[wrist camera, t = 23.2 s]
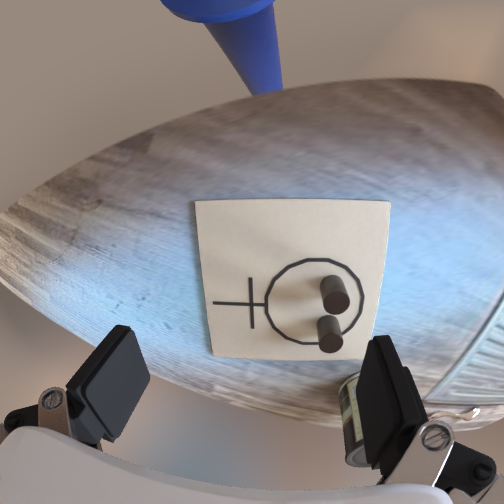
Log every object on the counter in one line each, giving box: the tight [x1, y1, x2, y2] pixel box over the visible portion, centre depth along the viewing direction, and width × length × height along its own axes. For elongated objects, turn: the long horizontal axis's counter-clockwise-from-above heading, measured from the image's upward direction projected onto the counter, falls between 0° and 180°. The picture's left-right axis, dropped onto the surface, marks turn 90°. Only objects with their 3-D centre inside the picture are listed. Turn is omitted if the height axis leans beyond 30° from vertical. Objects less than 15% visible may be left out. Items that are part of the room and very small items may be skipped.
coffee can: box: [338, 372, 371, 467], centre depth 34 cm, size 10×10×14 cm
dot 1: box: [320, 275, 350, 315], centre depth 32 cm, size 3×3×4 cm
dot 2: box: [316, 315, 343, 353], centre depth 34 cm, size 3×3×4 cm
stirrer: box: [428, 406, 480, 421], centre depth 40 cm, size 20×4×5 cm
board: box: [195, 198, 391, 361], centre depth 35 cm, size 24×24×1 cm
